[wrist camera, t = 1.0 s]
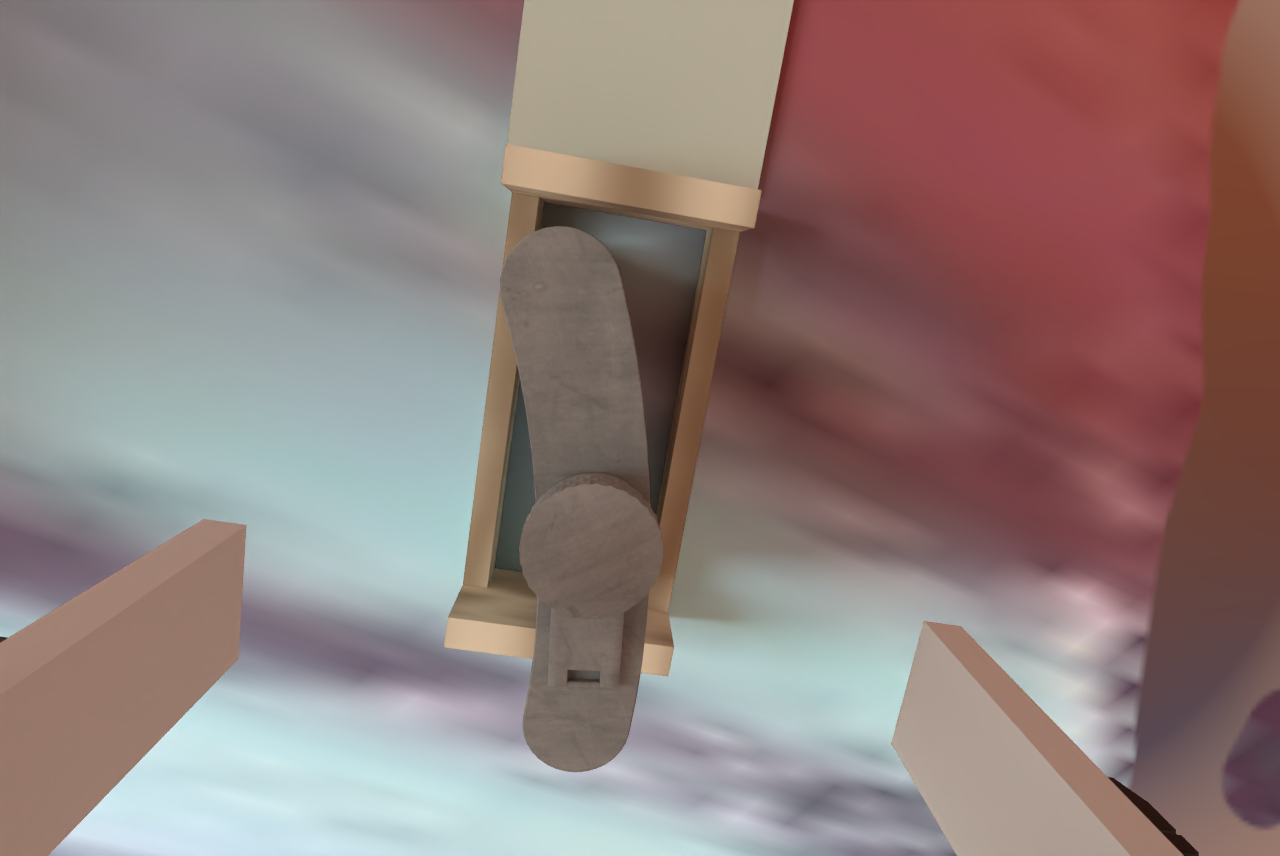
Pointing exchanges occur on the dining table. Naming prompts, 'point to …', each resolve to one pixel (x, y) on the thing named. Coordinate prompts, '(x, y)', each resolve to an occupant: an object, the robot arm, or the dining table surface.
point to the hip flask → (581, 495)
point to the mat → (651, 83)
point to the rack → (490, 597)
